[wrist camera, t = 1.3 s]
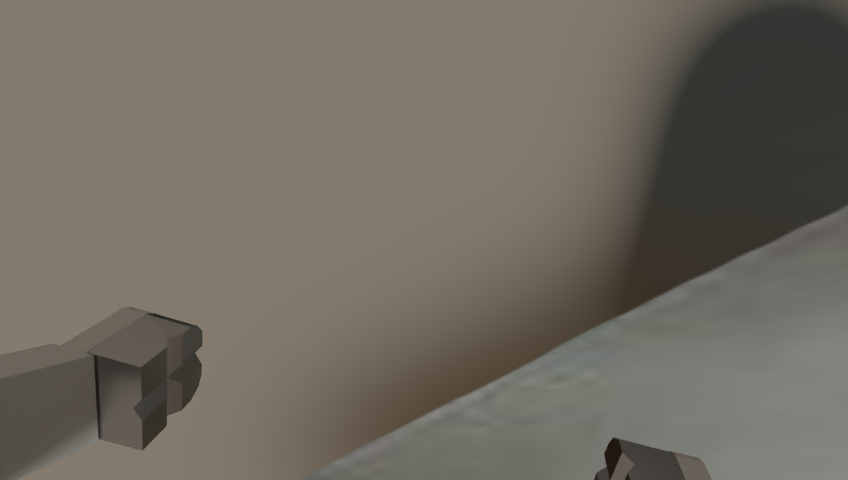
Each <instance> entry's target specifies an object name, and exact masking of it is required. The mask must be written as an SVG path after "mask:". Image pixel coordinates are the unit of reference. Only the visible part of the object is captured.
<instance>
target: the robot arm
mask: <svg viewBox="0 0 848 480" xmlns="http://www.w3.org/2000/svg"><path fill="white" fill-rule="evenodd" d="M201 346H202V330H201V329H200V328H199V327H198V326H196V325H192V324H189V323H185V322H182V321H179V320H175V319H172V318H168V317H165V316H161V315H158V314H155V313H150V312H147V311H143V310H140V309H136V308H132V307H126V308H122V309H120V310H119V311H117V312H115V313H114V314H112V315H110V316H109V317H107V318H105V319H104V320H102V321H101V322H99V323H97V324H96V325H94V326H92V327H91V328H89V329H87V330H86V331H84V332H82V333H81V334H79V335H78V336H76V337H74V338H73V339H71V340H69V341H68V342H66V343H64V344H63V345H61V346H59V345H55V344H50V345H45V346H41V347H37V348H32V349H28V350H22V351H18V352H13V353H8V354H4V355H0V480H17V479H19V478H21V477H23V476H25V475H28V474H30V473H32V472H34V471H36V470H38V469H41V468H43V467H45V466H47V465H49V464H51V463H53V462H56V461H57V460H60V459H62V458H64V457H66V456H68V455H71V454H73V453H75V452H77V451H79V450H81V449H83V448H86V447H88V446H90V445H92V444H94V443H96V442H98V441H99V439H101V440H105V441H109V442H113V443H116V444H120V445H124V446H128V447H132V448H135V449H139V450H143V449H144V448H145V447H146V446H147V445H148V444H149V443H150V442H151V441H152V440H153V439H154V438H155V437H156V436H157V435H158V434H159V433H160V432H161V431H162V430H163V429H164V428H165V427H166V425H167V415H170V414H173V413H176V412H178V411H181V410H182V409H183V408H184V407H185V406H186V405H187V404H188V403H189V402H190V401H191V399H192V397H193V395H194V394H195V392H196V390H197V388H198V386H199V382H200V378H201V370H202V364H201V362H200V361H199V359H198V357H197V356H196V354H195V352H196V351H197V350H198V349H199V348H200V347H201ZM604 456H605V460H606V465H607V467H606V468H604V469H602V470H600V471H599V472H597V473H596V476H595V479H594V480H712V479H711V477H710V475H709V473H708V471H707V468H706V466H705V464H704V463H703V462H702V461H701V460H700V459H699V458H697V457H693V456H689V455H684V454H680V453H676V452H672V451H669V452H668V451H664V450H660V449H656V448H652V447H649V446H645V445H641V444H637V443H633V442H629V441H625V440H622V439H618V438H614V437H613V438H612V440H611V441H610V442H609V444H608V446H607V448H606V451H605V453H604Z"/></svg>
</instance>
